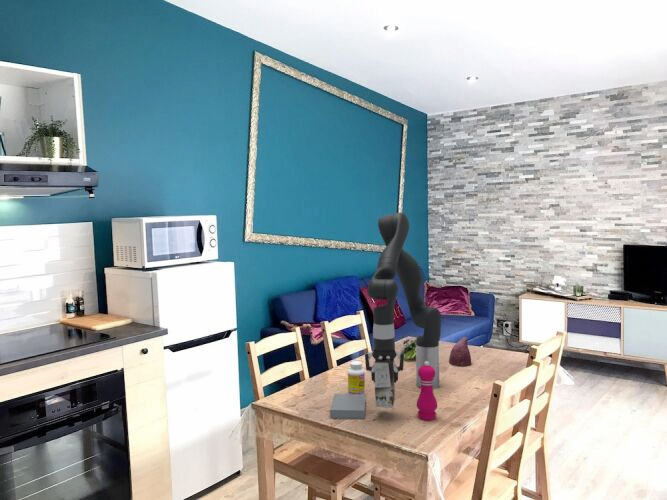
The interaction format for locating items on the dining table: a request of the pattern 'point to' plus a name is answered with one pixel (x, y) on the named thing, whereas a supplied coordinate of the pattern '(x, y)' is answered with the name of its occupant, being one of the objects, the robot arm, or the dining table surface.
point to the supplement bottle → (356, 378)
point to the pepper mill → (426, 393)
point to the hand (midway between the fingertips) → (384, 381)
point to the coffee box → (384, 384)
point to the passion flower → (409, 349)
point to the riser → (348, 406)
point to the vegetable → (460, 354)
